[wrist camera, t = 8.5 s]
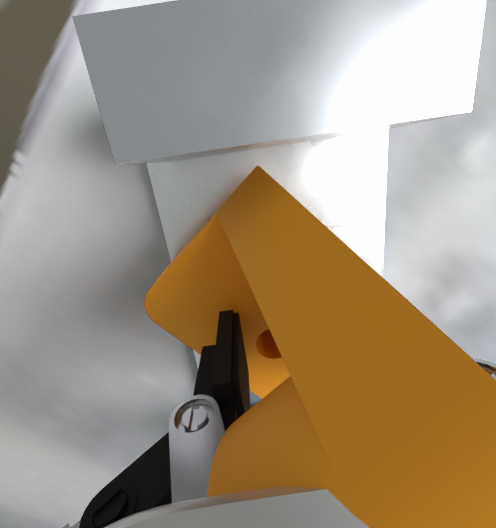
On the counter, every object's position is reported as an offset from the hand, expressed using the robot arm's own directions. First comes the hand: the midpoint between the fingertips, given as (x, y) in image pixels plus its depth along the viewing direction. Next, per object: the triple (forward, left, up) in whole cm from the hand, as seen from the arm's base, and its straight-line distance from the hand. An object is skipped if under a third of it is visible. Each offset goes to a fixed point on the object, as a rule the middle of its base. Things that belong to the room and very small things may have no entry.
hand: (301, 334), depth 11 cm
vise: (0, +1, -5) cm, 5 cm away
